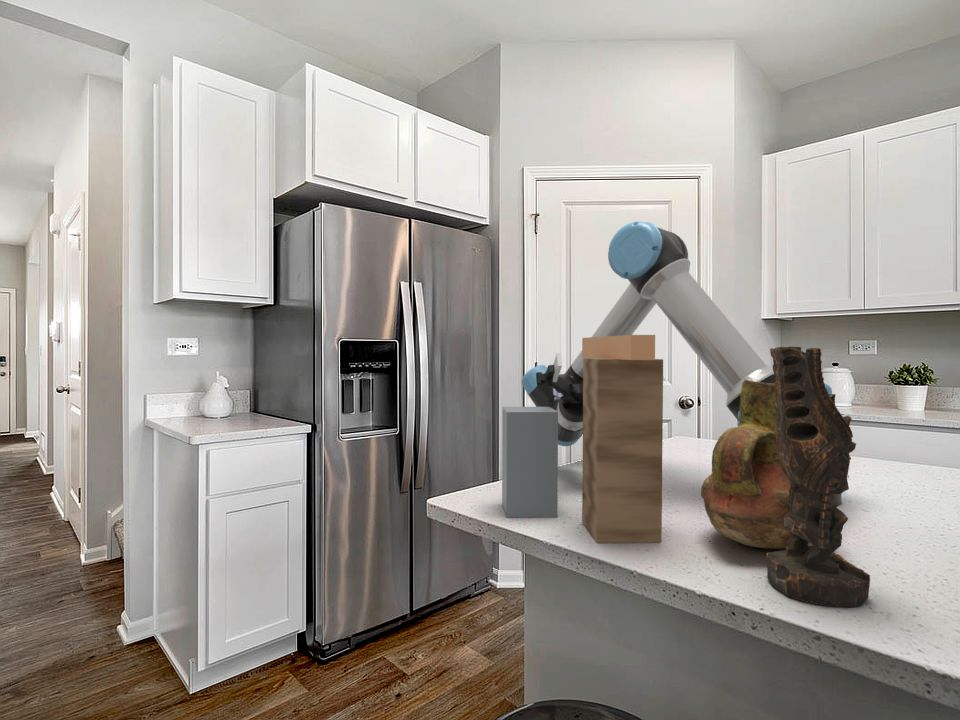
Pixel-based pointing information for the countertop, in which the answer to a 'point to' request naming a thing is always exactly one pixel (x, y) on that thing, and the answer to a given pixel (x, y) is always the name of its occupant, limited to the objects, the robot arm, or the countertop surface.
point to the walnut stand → (622, 449)
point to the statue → (812, 485)
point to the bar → (620, 347)
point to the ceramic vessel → (749, 475)
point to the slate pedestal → (529, 462)
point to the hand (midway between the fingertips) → (595, 359)
